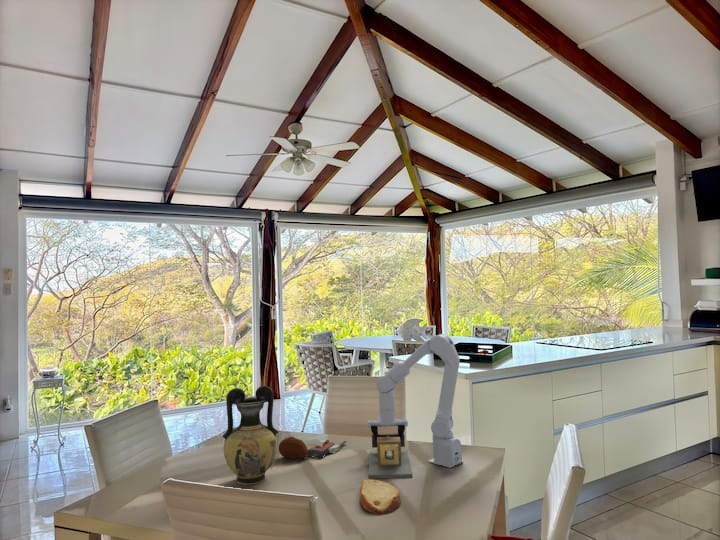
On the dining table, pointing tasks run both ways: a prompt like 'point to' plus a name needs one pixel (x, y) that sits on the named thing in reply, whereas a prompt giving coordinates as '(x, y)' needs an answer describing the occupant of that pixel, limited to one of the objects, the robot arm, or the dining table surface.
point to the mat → (389, 467)
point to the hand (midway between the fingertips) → (388, 446)
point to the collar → (386, 448)
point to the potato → (293, 448)
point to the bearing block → (388, 442)
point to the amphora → (250, 436)
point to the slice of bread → (379, 497)
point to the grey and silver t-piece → (389, 452)
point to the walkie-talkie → (324, 448)
